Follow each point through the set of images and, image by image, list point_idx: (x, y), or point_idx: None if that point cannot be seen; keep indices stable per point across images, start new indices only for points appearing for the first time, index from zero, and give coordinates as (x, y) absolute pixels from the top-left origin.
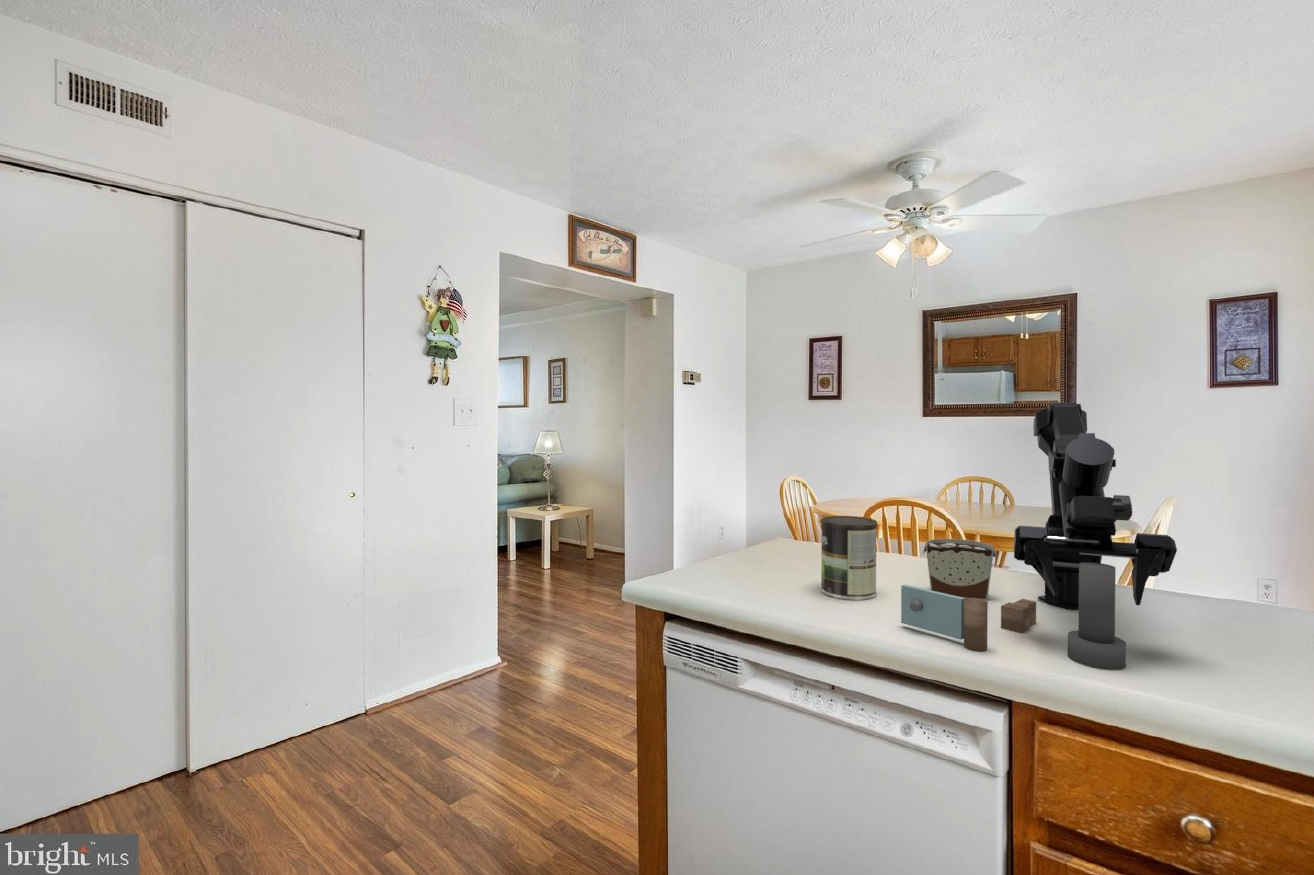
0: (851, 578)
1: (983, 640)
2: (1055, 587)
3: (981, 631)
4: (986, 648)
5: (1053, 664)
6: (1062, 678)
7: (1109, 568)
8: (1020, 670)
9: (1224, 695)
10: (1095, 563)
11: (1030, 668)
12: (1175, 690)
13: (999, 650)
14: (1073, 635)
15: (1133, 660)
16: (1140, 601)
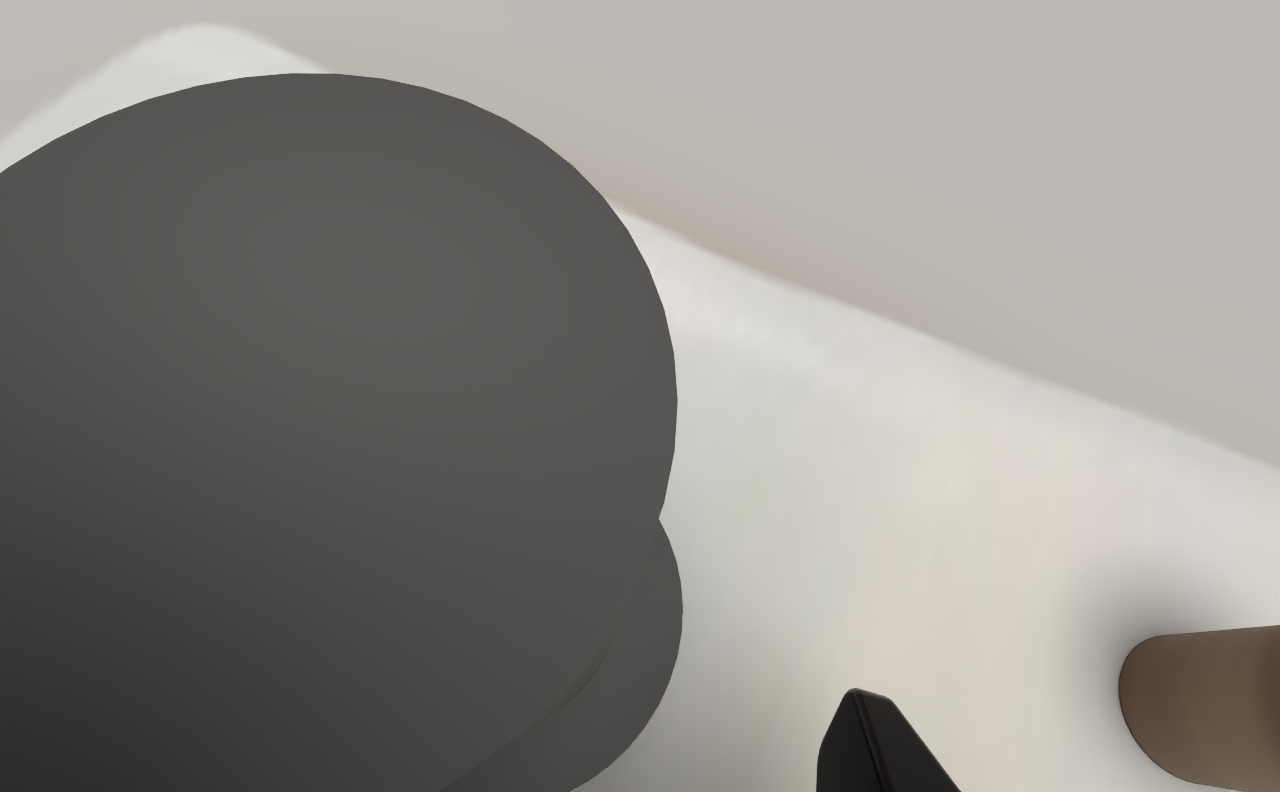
0: None
1: (1195, 639)
2: (893, 740)
3: (1263, 627)
4: (1133, 661)
5: (793, 501)
6: (809, 327)
7: (159, 148)
8: (978, 389)
9: None
10: (69, 726)
11: (925, 423)
12: None
13: (1048, 683)
14: (642, 648)
15: None
16: None
